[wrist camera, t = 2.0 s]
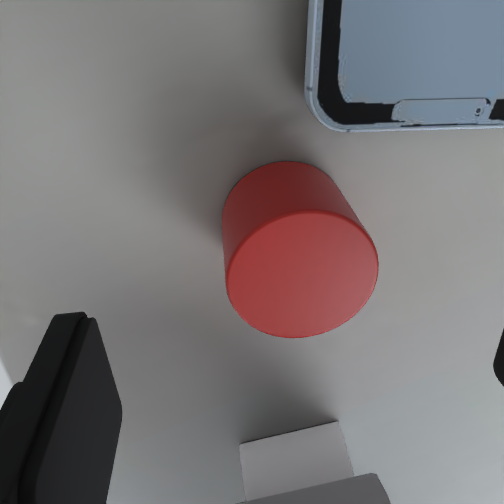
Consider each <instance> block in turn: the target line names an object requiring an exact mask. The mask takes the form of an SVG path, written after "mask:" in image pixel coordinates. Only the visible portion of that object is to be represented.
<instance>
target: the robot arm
mask: <svg viewBox="0 0 504 504" xmlns="http://www.w3.org/2000/svg"><path fill="white" fill-rule="evenodd" d="M493 368H494V372H495V375H496V377H497V378H498V380H499V381H500V382H501V384H502V385H503V386H504V329H503V332H502V336H501V339H500V342H499V346H498V349H497V352H496V355H495V359H494V363H493ZM121 422H122V405H121V401H120V398H119V394H118V391H117V388H116V384H115V381H114V377H113V374H112V371H111V367H110V364H109V361H108V357H107V354H106V351H105V347H104V344H103V341H102V337H101V334H100V331H99V327H98V324H97V321H96V319H95V318H88V317H87V315H86V314H85V312H75V313H65V314H56V315H55V316H54V317H53V318H52V320H51V322H50V325H49V327H48V329H47V331H46V333H45V335H44V337H43V340H42V342H41V344H40V346H39V348H38V350H37V352H36V355H35V357H34V359H33V361H32V363H31V365H30V367H29V369H28V372H27V374H26V376H25V378H24V380H23V382H18V383H16V384H15V385H14V386H13V387H12V389H11V390H10V392H9V393H8V396H7V398H6V400H5V402H4V404H3V406H2V408H1V410H0V504H106V500H107V495H108V490H109V485H110V479H111V474H112V469H113V464H114V459H115V453H116V448H117V443H118V438H119V433H120V428H121Z"/></svg>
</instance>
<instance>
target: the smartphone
mask: <svg viewBox="0 0 504 504" xmlns="http://www.w3.org/2000/svg"><path fill="white" fill-rule="evenodd" d="M304 93H305V99H306V103H307V105H308V108H309V110H310V111H311V113H312V114H313V115H314V116H315V117H316V118H317V119H318V120H319V122H320V123H321V124H323V125H324V126H326V127H327V128H329V129H331V130H334V131H338V132H374V131H409V130H444V129H480V128H504V0H309V8H308V27H307V46H306V65H305V84H304Z"/></svg>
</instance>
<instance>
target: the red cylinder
mask: <svg viewBox="0 0 504 504" xmlns="http://www.w3.org/2000/svg"><path fill="white" fill-rule="evenodd" d="M222 235H223V250H224V266H225V282H226V290H227V295H228V297H229V300H230V302H231V304H232V306H233V308H234V309H235V311H236V312H237V313H238V315H239V316H240V317H241V318H242V319H243V320H244V321H245V322H247V323H248V324H249V325H251V326H252V327H254V328H256V329H257V330H259V331H262V332H264V333H267V334H270V335H273V336H278V337H284V338H303V337H309V336H314V335H318V334H322V333H325V332H327V331H330V330H332V329H334V328H336V327H338V326H340V325H342V324H343V323H345V322H346V321H348V320H349V319H350V318H352V317H353V316H354V315H355V314H356V313H357V312H358V311H359V310H360V309H361V308H362V307H363V306H364V305H365V303H366V302H367V300H368V299H369V297H370V296H371V294H372V292H373V290H374V287H375V284H376V281H377V276H378V266H379V262H378V254H377V251H376V248H375V245H374V243H373V241H372V239H371V237H370V236H369V234H368V233H367V231H366V230H365V228H364V227H363V225H362V224H361V222H360V221H359V219H358V217H357V216H356V214H355V213H354V211H353V210H352V208H351V207H350V205H349V204H348V202H347V201H346V199H345V198H344V196H343V195H342V193H341V191H340V190H339V188H338V187H337V185H336V184H335V183H334V181H333V180H332V179H331V178H330V177H329V176H328V175H327V174H325V173H324V172H323V171H321V170H319V169H318V168H316V167H314V166H311V165H308V164H305V163H301V162H293V161H282V162H275V163H271V164H268V165H264V166H262V167H260V168H257V169H256V170H254V171H252V172H250V173H249V174H247V175H246V176H245V177H243V178H242V179H241V180H240V181H239V182H238V183H237V184H236V186H235V187H234V188H233V189H232V191H231V192H230V194H229V196H228V198H227V200H226V202H225V205H224V209H223V213H222Z"/></svg>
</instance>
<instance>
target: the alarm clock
mask: <svg viewBox="0 0 504 504" xmlns="http://www.w3.org/2000/svg"><path fill="white" fill-rule="evenodd" d="M239 449H240V461H241V469H242V478H243V485H244V491H245V497H246V501H245V502H241V503H237V504H391V503H390V500H389V498H388V495H387V493H386V491H385V489H384V487H383V485H382V484H381V482H380V480H379V478H378V476H377V474H374V473H369V474H365V475H360V476H356V477H354V473H353V469H352V466H351V462H350V459H349V455H348V452H347V448H346V445H345V441H344V438H343V434H342V431H341V428H340V424H339V421H337V422H333V423H329V424H324V425H320V426H316V427H312V428H307V429H303V430H299V431H294V432H290V433H286V434H282V435H277V436H273V437H269V438H265V439H260V440H256V441H252V442H247V443H243V444H239Z"/></svg>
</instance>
